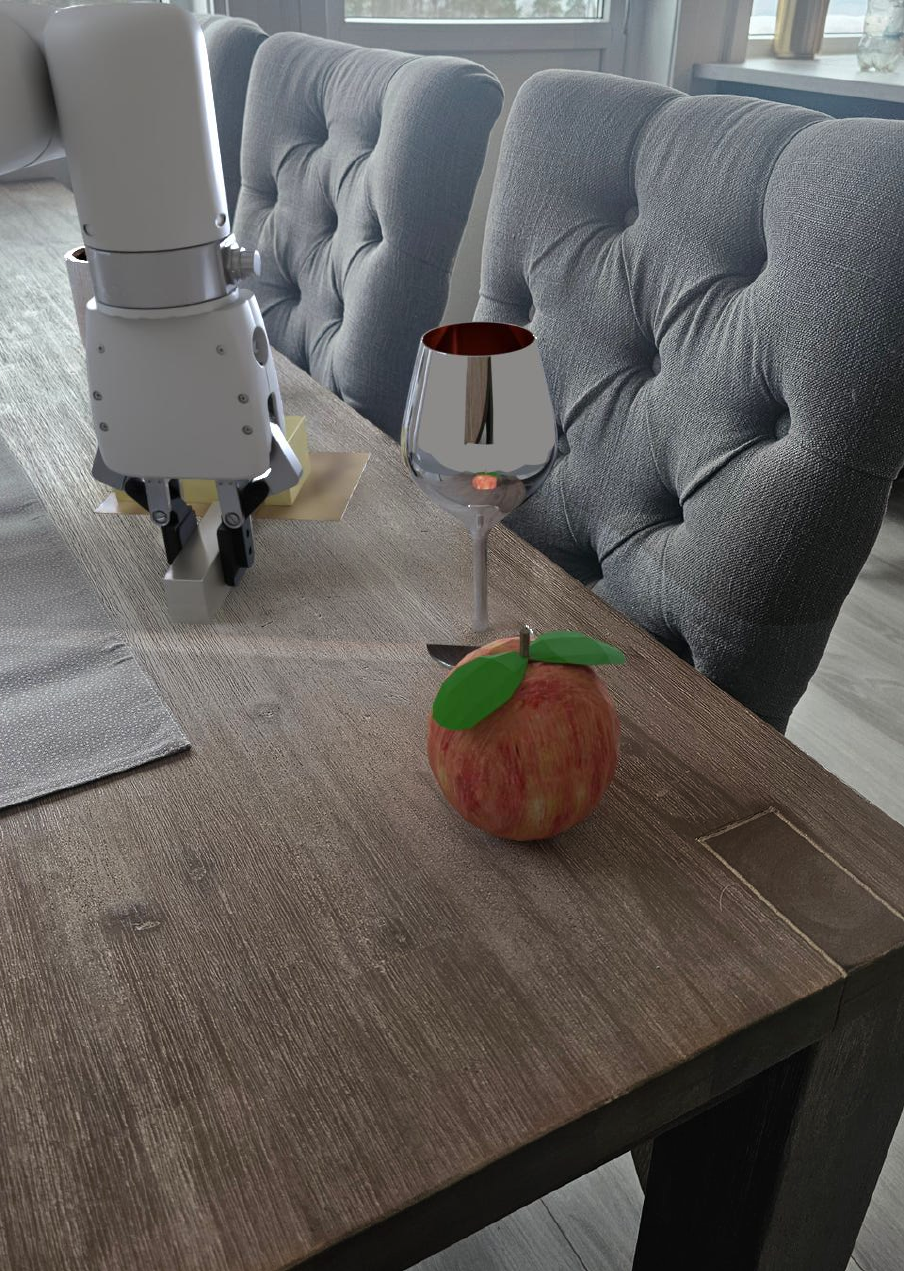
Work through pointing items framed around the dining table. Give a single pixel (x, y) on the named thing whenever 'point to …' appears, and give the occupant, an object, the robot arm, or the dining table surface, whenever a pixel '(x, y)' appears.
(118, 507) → the board
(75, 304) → the planter
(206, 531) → the knife
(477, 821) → the fruit
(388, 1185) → the dining table surface
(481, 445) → the wineglass
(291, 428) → the butter slice
